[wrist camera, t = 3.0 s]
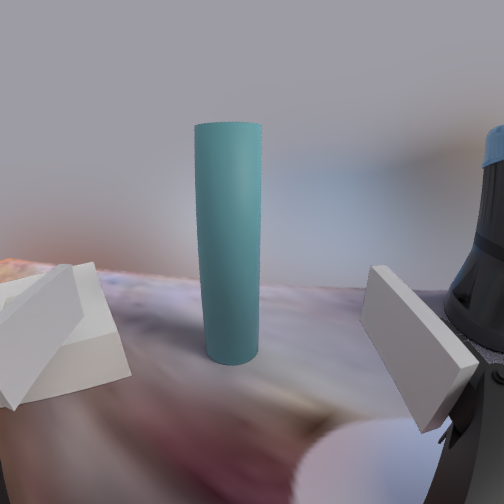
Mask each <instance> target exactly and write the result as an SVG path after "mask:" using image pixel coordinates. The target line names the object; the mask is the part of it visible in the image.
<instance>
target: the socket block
mask: <svg viewBox="0 0 504 504" xmlns="http://www.w3.org/2000/svg"><path fill="white" fill-rule="evenodd" d="M72 269H73V274H74V278H75V283H76V287H77V291H78V295H79V298H80V302H81V306H82V309H83V313H84V318H83V319H82V320H81V321H80V322H79V324H78V325H77V326H76V327H75V329H74V330H73V331H72V332H71V334H70V335H69V336H68V337H67V339H66V340H65V341H64V342H63V344H62V345H61V346H60V348H59V349H58V350H57V352H56V353H55V354H54V356H53V357H52V358H51V360H50V361H49V362H48V364H47V365H46V366H45V368H44V369H43V370H42V372H41V373H40V375H39V376H38V377H37V379H36V380H35V382H34V383H33V384H32V386H31V387H30V389H29V390H28V392H27V393H26V395H25V396H24V398H23V399H22V401H21V402H20V404H24V403H28V402H33V401H38V400H43V399H47V398H51V397H56V396H60V395H64V394H68V393H72V392H76V391H80V390H84V389H87V388H91V387H95V386H98V385H102V384H105V383H109V382H112V381H116V380H119V379H122V378H126V377H129V376H132V375H131V372H130V369H129V366H128V362H127V359H126V356H125V353H124V350H123V346H122V343H121V339H120V336H119V332H118V330H117V327H116V325H115V322H114V320H113V317H112V314H111V312H110V309H109V307H108V304H107V301H106V298H105V296H104V293H103V290H102V287H101V284H100V281H99V278H98V275H97V272H96V269H95V266H94V262H89V263H85V264H80V265H76V266H72ZM47 273H48V272H46V273H42V274H38V275H33V276H29V277H25V278H21V279H17V280H13V281H9V282H5V283H1V284H0V311H1V310H3V309H4V308H5V307H6V306H7V305H8V304H10V303H11V302H12V301H13V300H14V299H15V298H17V297H18V296H19V295H20V294H21V293H23V292H24V291H25V290H26V289H28V288H29V287H30V286H31V285H33V284H34V283H35V282H36V281H38V280H39V279H40V278H41V277H43V276H44V275H45V274H47ZM2 407H5V406H3V405H2V404H1V403H0V408H2Z"/></svg>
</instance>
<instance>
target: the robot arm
mask: <svg viewBox="0 0 504 504" xmlns="http://www.w3.org/2000/svg"><path fill="white" fill-rule="evenodd" d="M482 168H483V169H484V175H483V186H482V187H483V188H482V195H481V203H480V210H479V216H478V222H477V228H476V233H475V238H474V243H473V247H472V250H471V252H470V253H469V255H468V257H467V259H466V261H465V262H464V264H463V266H462V268H461V269H460V271H459V273H458V274H457V276H456V277H455V279H454V281H453V282H452V284H451V286H450V288H449V291H448V294H447V298H446V301H445V311H446V314H447V316H448V317H449V319H450V320H451V322H452V323H453V324H454V325H455V326H456V327H457V328H458V329H459V330H460V331H461V332H462V333H463V334H465V335H466V336H467V337H469V338H470V339H472V340H474V341H475V342H477V343H479V344H481V345H483V346H485V347H487V348H490V349H493V350H496V351H499V352H504V125H500V126H497V127H495V128H493V129H491V130H490V131H489V133H488V134H487V137H486V144H485V156H484V163H483V164H482ZM83 318H84V313H83V309H82V306H81V302H80V298H79V295H78V291H77V287H76V283H75V278H74V274H73V269H72V265H71V264H59V265H57V266H56V267H55V268H53V269H52V270H51V271H49V272H48V273H47V274H45V275H44V276H43V277H41V278H40V279H39V280H38V281H36V282H35V283H34V284H33V285H31V286H30V287H29V288H28V289H26V290H25V291H24V292H23V293H21V294H20V295H19V296H18V297H17V298H15V299H14V300H13V301H12V302H11V303H10V304H8V305H7V306H6V307H5V308H4V309H3V310H1V311H0V403H1V404H2V405H3V406H5V407H7V408H9V409H11V410H13V411H15V410H16V408H17V407H18V405H19V404H20V402H21V401H22V399H23V398H24V396H25V395H26V393H27V392H28V390H29V389H30V387H31V386H32V384H33V383H34V382H35V380H36V379H37V377H38V376H39V375H40V373H41V372H42V370H43V369H44V368H45V366H46V365H47V364H48V362H49V361H50V360H51V358H52V357H53V356H54V354H55V353H56V352H57V350H58V349H59V348H60V346H61V345H62V344H63V342H64V341H65V340H66V339H67V337H68V336H69V335H70V334H71V332H72V331H73V330H74V329H75V327H76V326H77V325H78V324H79V322H80V321H81V320H82V319H83ZM360 322H361V324H362V326H363V327H364V329H365V331H366V333H367V334H368V336H369V338H370V339H371V341H372V343H373V345H374V346H375V348H376V350H377V352H378V353H379V355H380V357H381V359H382V360H383V362H384V364H385V366H386V367H387V369H388V371H389V373H390V375H391V377H392V378H393V380H394V382H395V384H396V386H397V388H398V389H399V391H400V393H401V395H402V397H403V399H404V401H405V403H406V405H407V407H408V408H409V410H410V412H411V414H412V416H413V418H414V420H415V422H416V424H417V426H418V428H419V430H420V432H421V434H422V433H425V432H428V431H431V430H434V429H437V428H439V427H441V425H442V424H443V422H444V421H445V419H446V418H447V417H448V415H449V417H450V418H451V420H452V423H451V425H450V426H449V427H448V429H447V430H446V432H445V433H444V434H443V435H442V437H441V438H440V440H439V442H438V443H439V444H441V442H442V441H443V440H444V439H445V438H446V440H445V443H444V447H443V450H442V454H441V457H440V460H439V463H438V466H437V469H436V472H435V475H434V478H433V481H432V483H431V486H430V489H429V491H428V494H427V496H426V499H425V501H424V503H423V504H504V365H503V364H499V363H493V364H490V365H489V364H488V363H487V362H486V361H485V359H484V358H483V357H482V356H481V355H480V354H479V353H478V352H477V350H476V349H475V348H474V347H473V346H472V345H471V344H470V343H469V342H467V339H466V338H465V337H464V336H463V335H460V332H459V331H458V330H457V329H456V328H455V327H454V326H453V325H452V324H451V323H449V322H447V321H446V320H444V319H442V318H439V317H438V316H437V315H436V314H435V313H434V312H433V311H432V310H431V309H430V308H429V307H428V306H427V305H426V304H425V303H424V302H423V301H422V300H421V299H420V298H419V297H418V296H417V295H416V294H415V293H414V292H413V291H412V290H411V289H410V288H409V287H408V286H407V285H406V284H405V283H404V282H403V281H402V280H401V279H400V278H399V277H398V276H397V275H396V274H395V273H394V272H392V271H391V270H390V269H389V268H388V267H387V266H386V265H371V266H370V271H369V276H368V282H367V287H366V293H365V298H364V303H363V307H362V312H361V317H360ZM0 504H10V501H9V498H8V494H7V490H6V486H5V481H4V477H3V472H2V466H1V461H0Z"/></svg>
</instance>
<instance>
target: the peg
mask: <svg viewBox="0 0 504 504" xmlns="http://www.w3.org/2000/svg"><path fill="white" fill-rule="evenodd" d="M261 129H262V125H261V124H257V123H247V122H215V123H204V124H198V125H195V188H196V217H197V236H198V254H199V270H200V284H201V297H202V308H203V319H204V330H205V340H206V349H207V354H208V355H209V357H210V358H211V359H212V360H214V361H216V362H218V363H220V364H224V365H239V364H243V363H246V362H248V361H250V360H252V359H253V358H254V357H255V356H256V354H257V352H258V330H259V279H260V221H261V134H262V130H261Z"/></svg>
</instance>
